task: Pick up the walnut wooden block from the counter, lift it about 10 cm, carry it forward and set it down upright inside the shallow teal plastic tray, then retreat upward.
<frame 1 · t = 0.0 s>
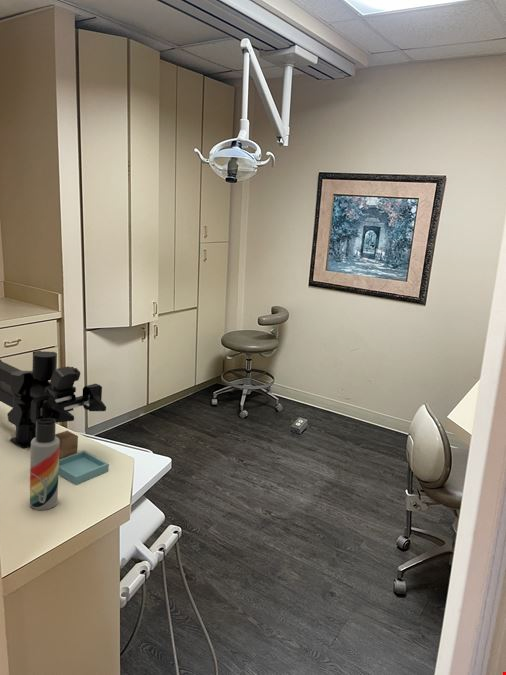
hand: (90, 413, 119), 17 cm above the table, tool horizontal, fingers open, 9 cm apart
lotion bottle: (43, 504, 110), on the table
teal tray: (80, 470, 125), on the table
walnut block: (64, 456, 131), on the table
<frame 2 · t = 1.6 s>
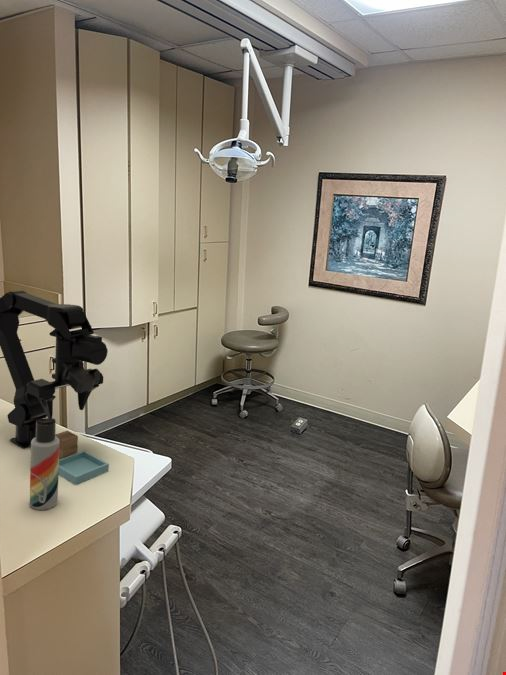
hand: (66, 414, 128), 12 cm above the table, tool pointing down, fingers open, 9 cm apart
nothing on the table moved.
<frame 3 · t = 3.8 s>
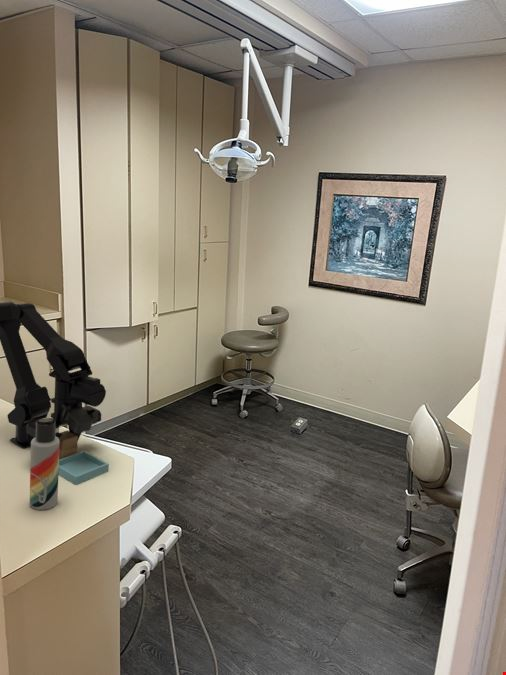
hand: (64, 451, 131), 1 cm above the table, tool pointing down, fingers closed on walnut block, 4 cm apart
walnut block: (64, 456, 131), on the table, touching gripper
everything else where it was.
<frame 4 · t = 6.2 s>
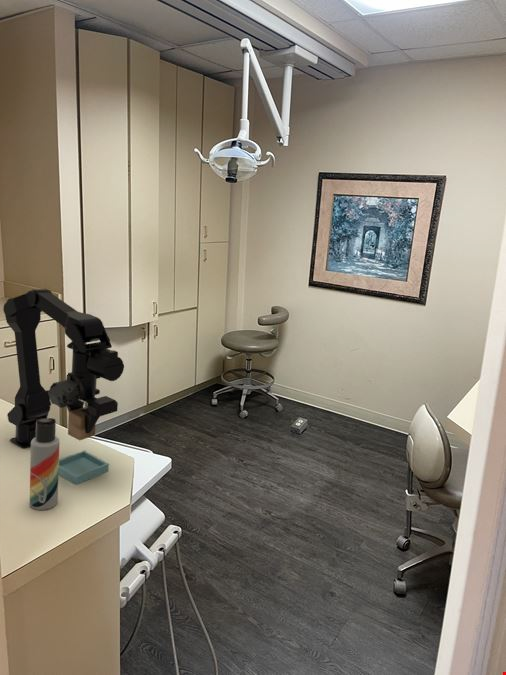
hand: (81, 429, 123), 11 cm above the table, tool pointing down, fingers closed on walnut block, 4 cm apart
walnut block: (81, 434, 123), point 10 cm above the table, touching gripper
everything else where it was.
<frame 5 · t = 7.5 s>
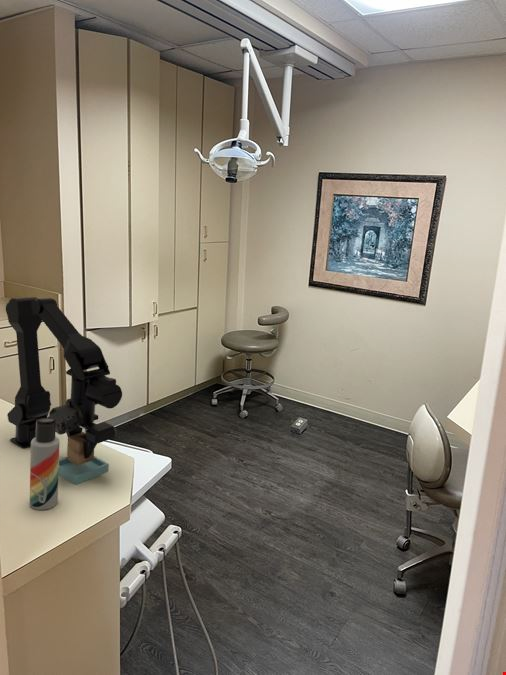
hand: (80, 454, 124), 4 cm above the table, tool pointing down, fingers closed on walnut block, 4 cm apart
walnut block: (80, 459, 125), point 3 cm above the table, touching gripper
everything else where it was.
when the fingers open (3 cm above the table, at t = 8.6 s): walnut block drops 1 cm, resting on teal tray.
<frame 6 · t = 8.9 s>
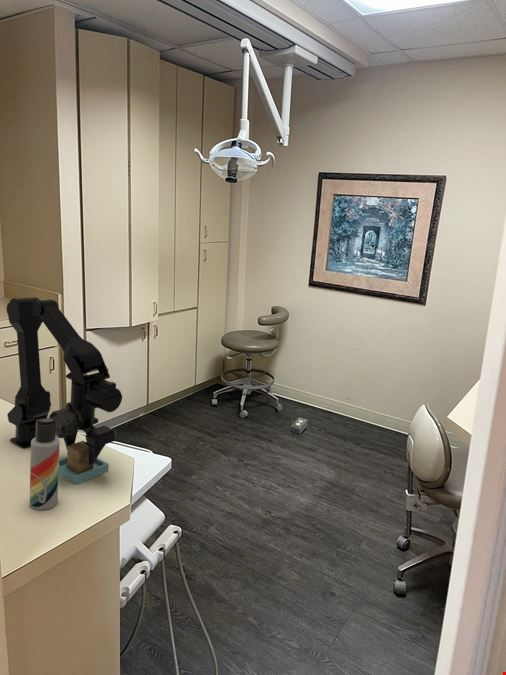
hand: (80, 458, 125), 3 cm above the table, tool pointing down, fingers open, 8 cm apart
walnut block: (80, 468, 125), point 1 cm above the table, touching teal tray
everything else where it was.
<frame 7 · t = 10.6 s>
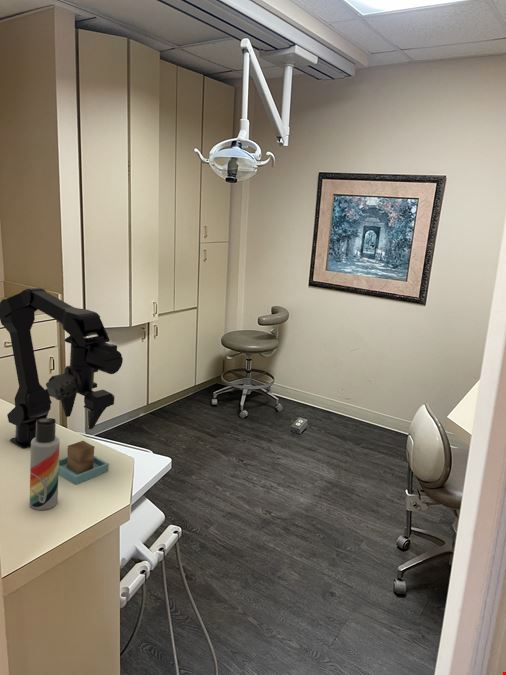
hand: (79, 422, 125), 12 cm above the table, tool pointing down, fingers open, 9 cm apart
nothing on the table moved.
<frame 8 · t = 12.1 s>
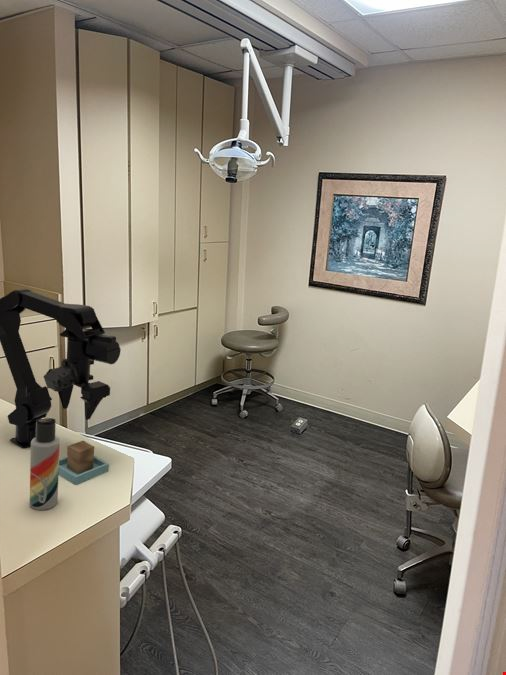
hand: (76, 413, 129), 12 cm above the table, tool pointing down, fingers open, 9 cm apart
nothing on the table moved.
at the end: walnut block 0.0 cm off-centre on the teal tray, point 0.6 cm above the teal tray's base; walnut block tilted 0°; the gripper is holding nothing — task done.
